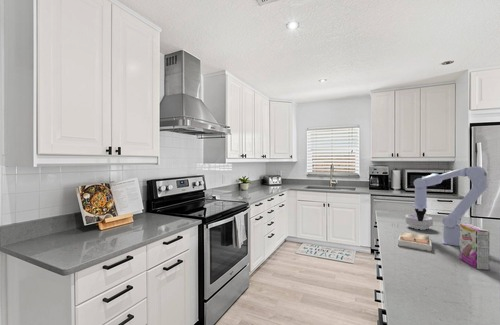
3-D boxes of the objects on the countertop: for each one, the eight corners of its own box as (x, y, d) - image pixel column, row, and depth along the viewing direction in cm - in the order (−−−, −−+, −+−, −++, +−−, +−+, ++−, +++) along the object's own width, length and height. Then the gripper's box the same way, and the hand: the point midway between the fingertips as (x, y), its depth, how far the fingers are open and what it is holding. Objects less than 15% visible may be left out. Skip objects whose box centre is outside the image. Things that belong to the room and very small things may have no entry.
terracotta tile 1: (427, 243, 130) (427, 240, 130) (427, 246, 126) (427, 242, 126) (416, 242, 133) (416, 238, 133) (415, 244, 129) (415, 240, 129)
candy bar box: (458, 258, 111) (458, 223, 111) (471, 259, 110) (471, 223, 110) (475, 269, 100) (476, 230, 100) (490, 270, 99) (490, 230, 99)
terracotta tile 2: (413, 241, 133) (413, 238, 133) (413, 244, 129) (413, 240, 129) (403, 240, 136) (403, 236, 136) (402, 242, 132) (402, 238, 132)
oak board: (428, 239, 139) (428, 236, 139) (429, 244, 130) (429, 241, 130) (402, 235, 146) (402, 232, 146) (400, 240, 137) (400, 236, 137)
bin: (430, 244, 130) (430, 239, 130) (431, 251, 120) (431, 245, 120) (399, 239, 138) (399, 234, 138) (398, 245, 128) (398, 240, 128)
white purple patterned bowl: (409, 230, 158) (409, 218, 158) (402, 224, 172) (402, 213, 172) (436, 232, 153) (437, 219, 153) (427, 226, 168) (427, 215, 168)
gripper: (412, 196, 152) (412, 217, 152) (412, 199, 140) (411, 222, 140) (426, 197, 148) (426, 219, 148) (427, 200, 136) (427, 224, 136)
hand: (420, 221), depth 144 cm, fingers closed
